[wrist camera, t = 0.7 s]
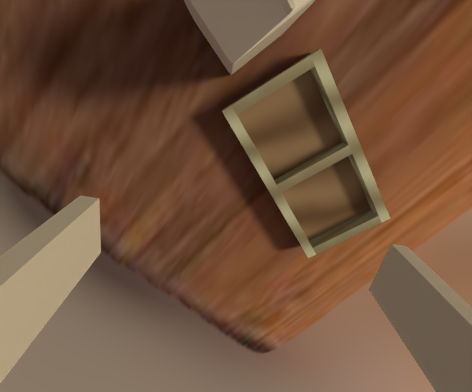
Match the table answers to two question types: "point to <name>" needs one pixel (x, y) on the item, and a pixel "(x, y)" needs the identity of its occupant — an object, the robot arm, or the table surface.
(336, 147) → the board
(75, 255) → the robot arm
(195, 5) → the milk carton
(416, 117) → the table surface
